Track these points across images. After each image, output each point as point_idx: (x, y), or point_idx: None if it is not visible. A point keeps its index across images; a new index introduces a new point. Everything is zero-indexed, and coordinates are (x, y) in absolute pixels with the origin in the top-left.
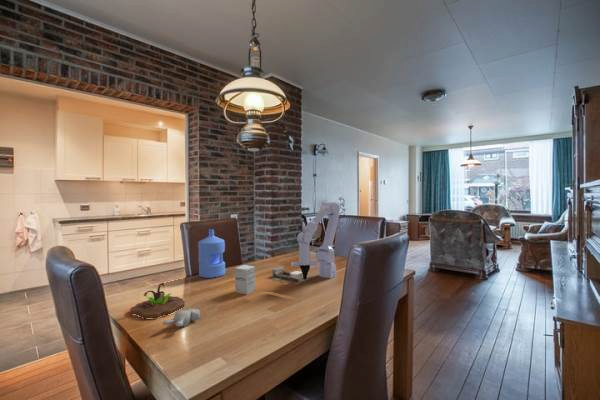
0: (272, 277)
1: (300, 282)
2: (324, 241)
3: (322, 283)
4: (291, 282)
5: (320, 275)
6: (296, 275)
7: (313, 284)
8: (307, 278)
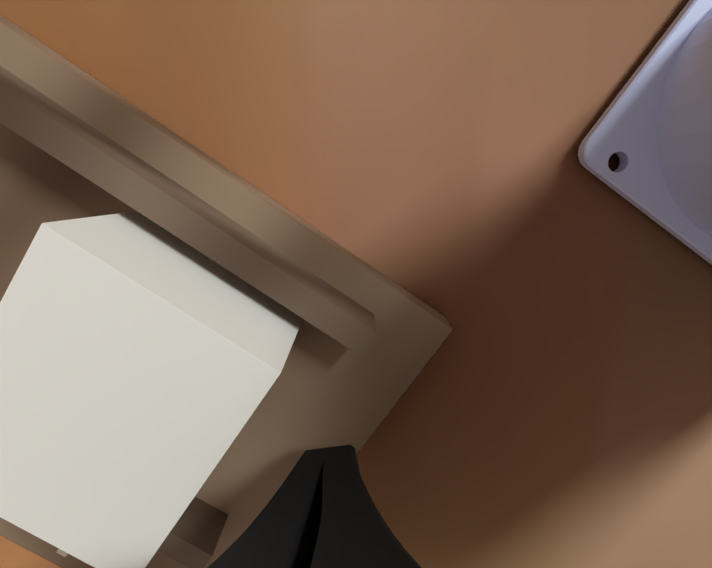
0: None
1: None
2: None
3: (636, 465)
4: None
5: (705, 197)
6: (125, 558)
7: (479, 506)
8: (386, 321)
